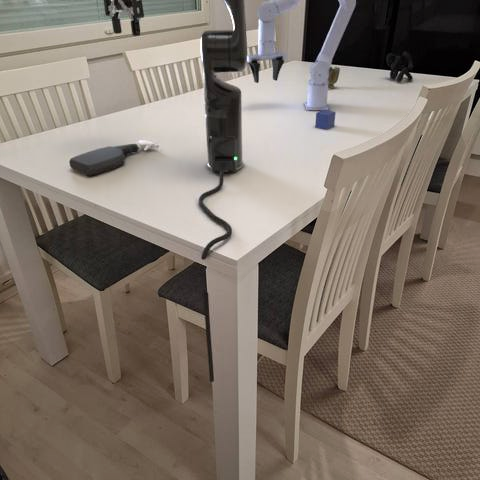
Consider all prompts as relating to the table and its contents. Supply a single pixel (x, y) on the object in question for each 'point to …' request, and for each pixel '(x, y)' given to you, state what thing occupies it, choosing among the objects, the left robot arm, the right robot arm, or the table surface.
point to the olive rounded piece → (333, 76)
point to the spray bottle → (106, 157)
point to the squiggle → (399, 66)
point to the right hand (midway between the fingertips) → (265, 81)
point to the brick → (325, 119)
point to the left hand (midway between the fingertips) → (127, 34)
